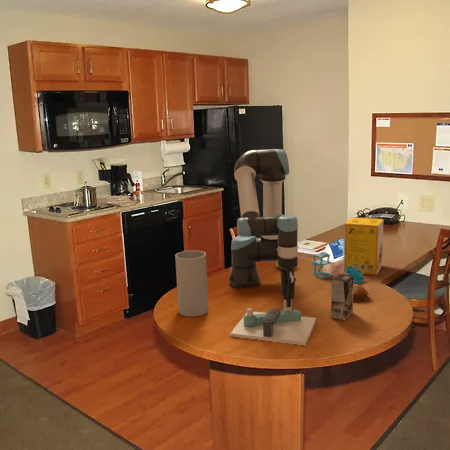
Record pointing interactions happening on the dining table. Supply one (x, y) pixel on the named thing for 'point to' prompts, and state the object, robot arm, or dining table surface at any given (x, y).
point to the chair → (321, 264)
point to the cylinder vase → (192, 283)
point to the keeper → (270, 322)
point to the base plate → (278, 331)
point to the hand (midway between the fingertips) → (287, 313)
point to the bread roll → (359, 293)
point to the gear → (355, 274)
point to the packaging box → (363, 244)
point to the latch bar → (257, 319)
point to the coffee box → (342, 296)
